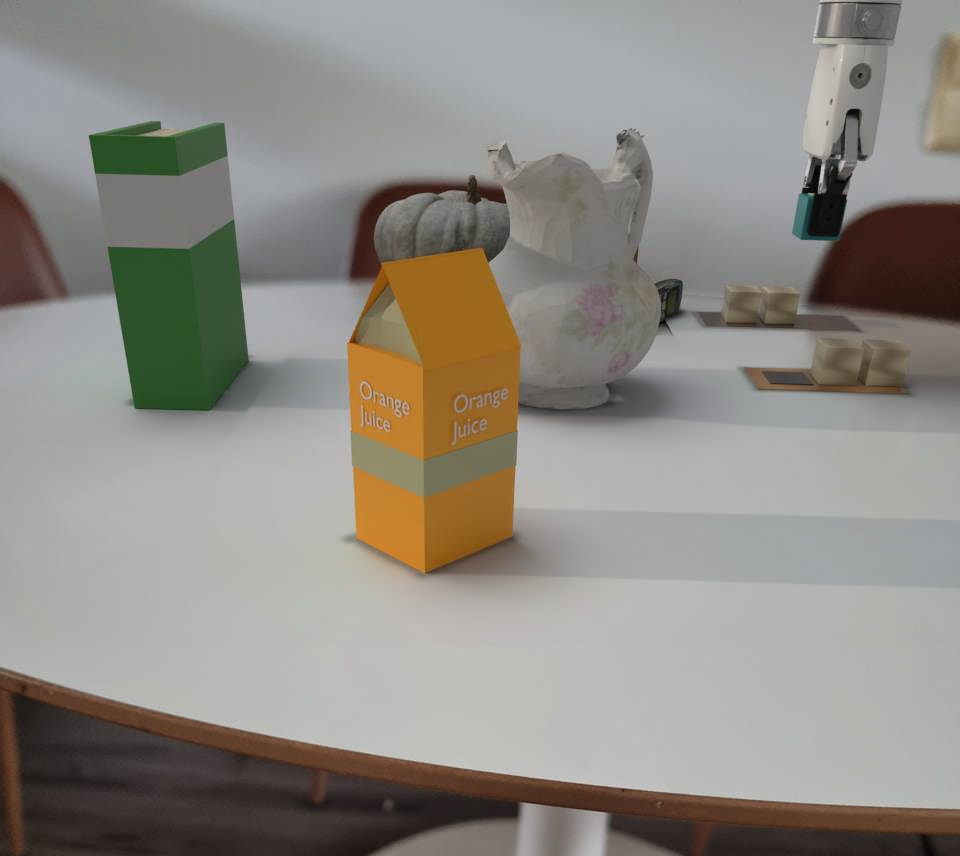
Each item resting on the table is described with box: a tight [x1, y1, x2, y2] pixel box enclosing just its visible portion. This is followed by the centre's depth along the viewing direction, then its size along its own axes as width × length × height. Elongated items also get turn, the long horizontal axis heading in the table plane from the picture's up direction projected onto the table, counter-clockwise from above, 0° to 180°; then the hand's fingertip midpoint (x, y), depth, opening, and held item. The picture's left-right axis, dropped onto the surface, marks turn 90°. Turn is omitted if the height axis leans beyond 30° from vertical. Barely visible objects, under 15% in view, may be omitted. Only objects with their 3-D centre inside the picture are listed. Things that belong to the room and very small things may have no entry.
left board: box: [696, 284, 860, 332], centre depth 130 cm, size 20×8×5 cm, turn 88°
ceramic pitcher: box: [484, 127, 661, 410], centre depth 97 cm, size 22×20×25 cm
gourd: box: [373, 174, 510, 267], centre depth 132 cm, size 25×25×17 cm
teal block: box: [791, 192, 848, 242], centre depth 102 cm, size 4×4×4 cm
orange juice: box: [346, 248, 522, 574], centre depth 66 cm, size 8×9×20 cm
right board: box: [742, 337, 912, 395], centre depth 107 cm, size 16×8×5 cm, turn 88°
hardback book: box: [88, 120, 250, 411], centre depth 97 cm, size 18×7×24 cm, turn 179°
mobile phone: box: [654, 278, 684, 324], centre depth 130 cm, size 5×3×15 cm
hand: (816, 230), depth 103 cm, fingers closed on teal block, 4 cm apart
